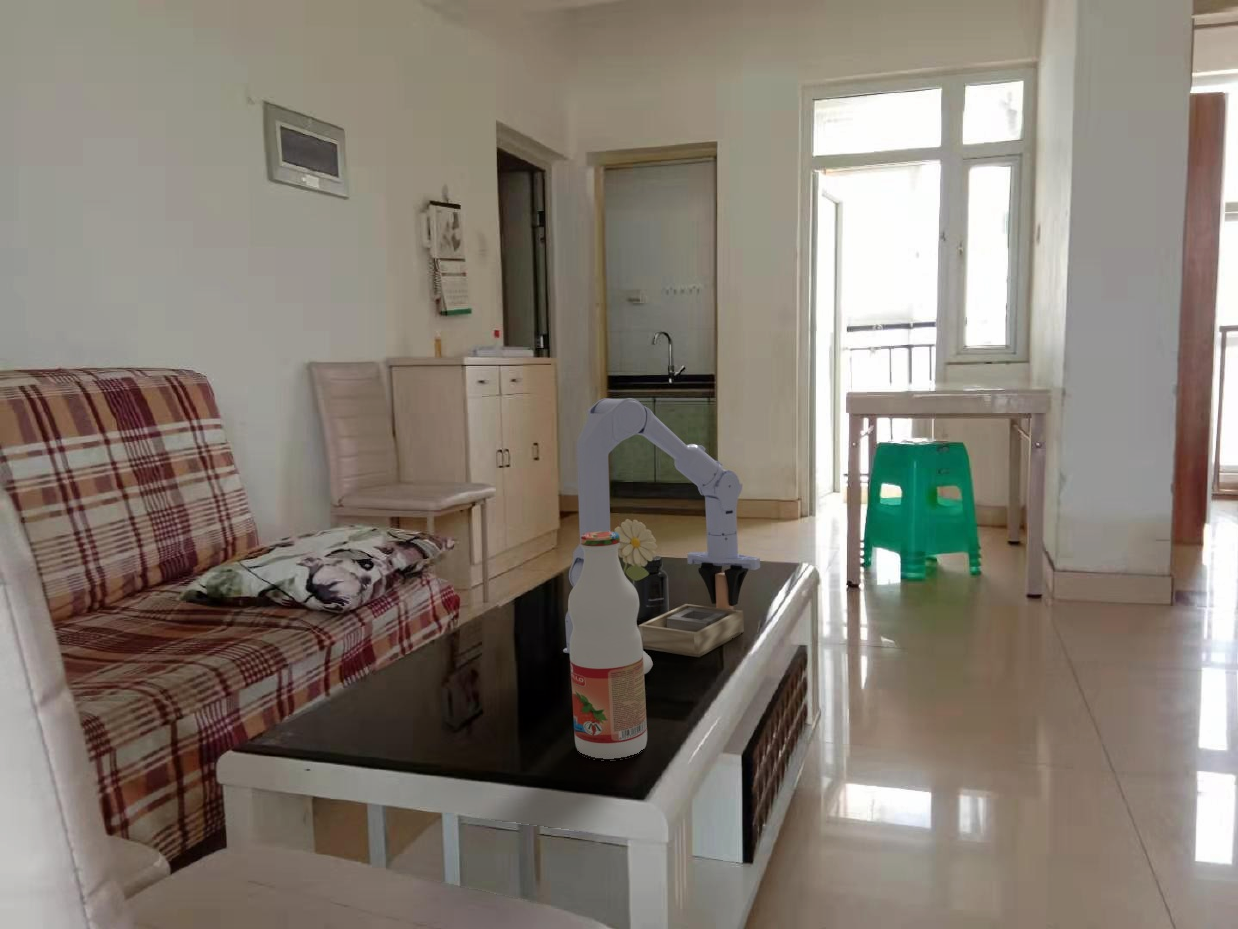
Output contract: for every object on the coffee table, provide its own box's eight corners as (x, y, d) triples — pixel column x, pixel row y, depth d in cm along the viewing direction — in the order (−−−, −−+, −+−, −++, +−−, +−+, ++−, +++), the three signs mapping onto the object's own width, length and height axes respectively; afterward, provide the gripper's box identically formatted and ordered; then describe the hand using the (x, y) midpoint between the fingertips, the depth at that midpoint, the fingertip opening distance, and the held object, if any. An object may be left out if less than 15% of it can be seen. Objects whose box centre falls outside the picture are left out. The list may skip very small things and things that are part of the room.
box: (699, 657, 155) (698, 634, 155) (639, 647, 162) (638, 625, 162) (743, 632, 168) (742, 610, 168) (686, 624, 175) (685, 603, 175)
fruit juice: (651, 759, 116) (640, 538, 113) (575, 765, 116) (562, 543, 113) (644, 730, 125) (634, 525, 123) (574, 735, 125) (562, 530, 122)
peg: (728, 624, 174) (726, 577, 173) (713, 622, 176) (711, 575, 175) (736, 620, 176) (735, 573, 176) (722, 618, 178) (720, 572, 177)
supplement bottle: (656, 625, 176) (653, 562, 175) (627, 620, 180) (624, 559, 179) (676, 616, 182) (673, 555, 180) (648, 612, 186) (645, 553, 184)
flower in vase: (591, 692, 141) (582, 530, 139) (575, 669, 152) (566, 519, 150) (672, 680, 145) (665, 522, 142) (651, 659, 156) (643, 511, 153)
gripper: (766, 531, 173) (769, 602, 175) (699, 527, 182) (702, 595, 183) (749, 538, 168) (751, 611, 169) (680, 533, 176) (683, 603, 177)
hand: (724, 603), depth 176 cm, fingers closed on peg, 3 cm apart
